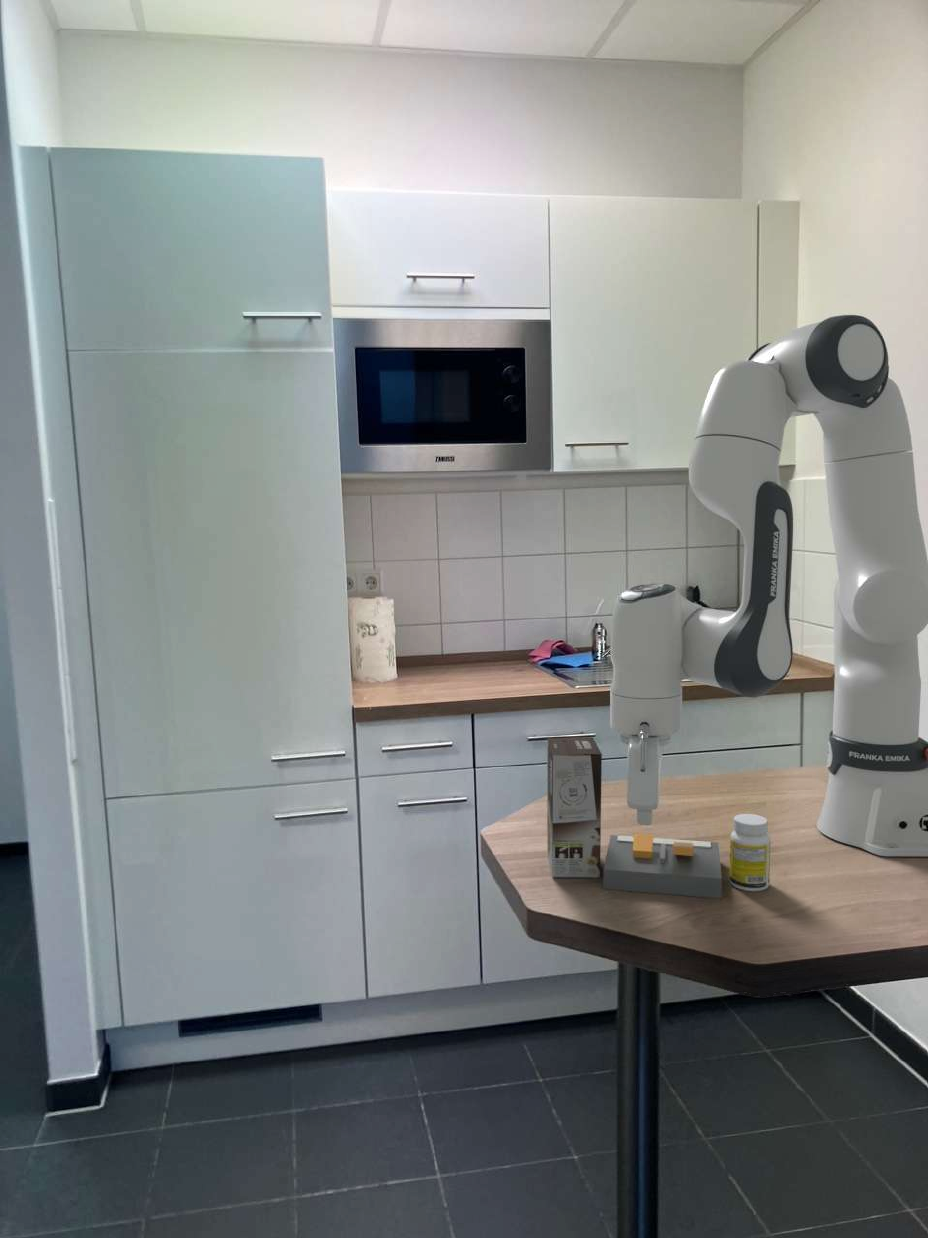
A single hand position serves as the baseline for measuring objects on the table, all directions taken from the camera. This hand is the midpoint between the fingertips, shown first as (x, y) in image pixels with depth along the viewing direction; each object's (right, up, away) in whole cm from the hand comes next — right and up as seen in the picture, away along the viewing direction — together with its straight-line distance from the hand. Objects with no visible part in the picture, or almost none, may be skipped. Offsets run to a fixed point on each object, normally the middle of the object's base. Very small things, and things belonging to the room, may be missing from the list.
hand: (644, 821), depth 118 cm
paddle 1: (0, -3, 0) cm, 3 cm away
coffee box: (-9, -7, +4) cm, 12 cm away
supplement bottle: (+12, -7, -3) cm, 15 cm away
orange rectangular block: (+5, -3, -1) cm, 6 cm away
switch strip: (+2, -7, 0) cm, 7 cm away
